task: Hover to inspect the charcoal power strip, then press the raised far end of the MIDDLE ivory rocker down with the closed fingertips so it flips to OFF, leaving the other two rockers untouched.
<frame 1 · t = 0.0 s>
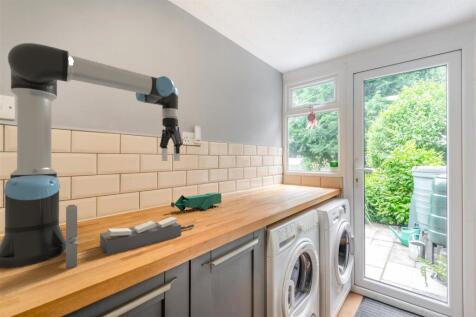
hand: (170, 160, 107), 28 cm above the counter, fingers open, 13 cm apart
toy: (197, 209, 124), on the counter
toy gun: (71, 260, 61), on the counter
strip: (143, 240, 75), on the counter
rocker left: (119, 231, 68), point 5 cm above the counter, hinge at 11.0°
rocker right: (167, 221, 79), point 5 cm above the counter, hinge at -11.0°
rocker mid: (145, 226, 73), point 5 cm above the counter, hinge at -11.0°
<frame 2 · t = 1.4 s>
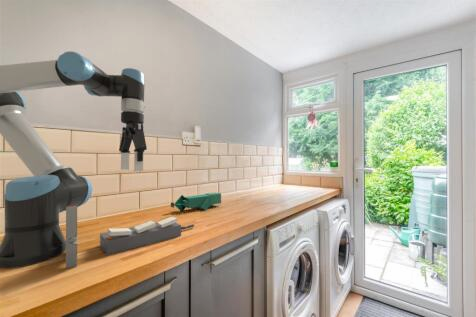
hand: (131, 170, 79), 25 cm above the counter, fingers open, 13 cm apart
nothing on the counter moved.
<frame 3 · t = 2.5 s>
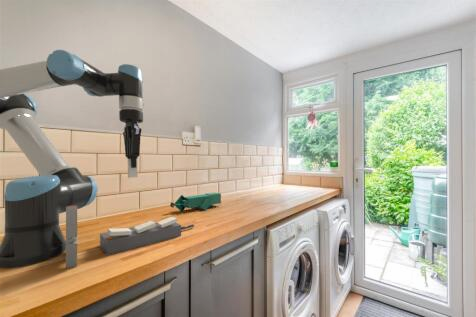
hand: (132, 177, 76), 22 cm above the counter, fingers closed
nothing on the counter moved.
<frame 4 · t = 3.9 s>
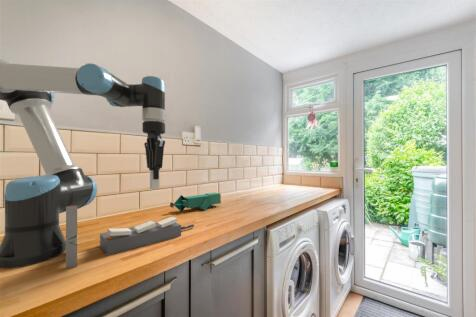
hand: (154, 188, 76), 18 cm above the counter, fingers closed
nothing on the counter moved.
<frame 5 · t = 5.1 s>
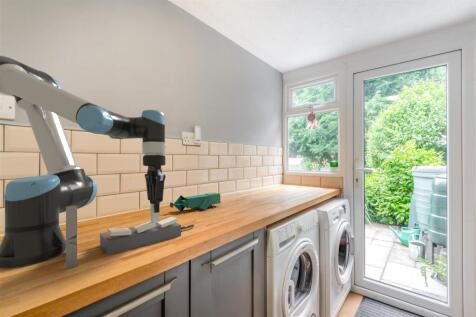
hand: (155, 221, 76), 7 cm above the counter, fingers closed
rocker mid: (145, 226, 73), point 5 cm above the counter, hinge at -10.7°, touching gripper
everything else where it was.
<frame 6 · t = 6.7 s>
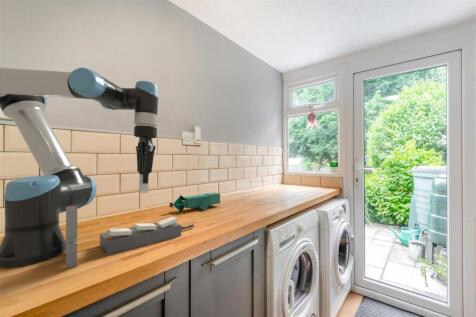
hand: (143, 192, 76), 17 cm above the counter, fingers closed
rocker mid: (145, 226, 74), point 5 cm above the counter, hinge at 10.6°
everything else where it was.
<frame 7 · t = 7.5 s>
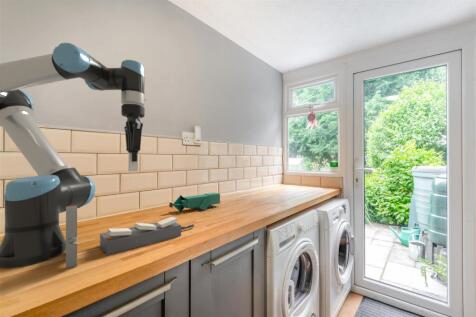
hand: (133, 170, 77), 24 cm above the counter, fingers closed
rocker mid: (145, 226, 74), point 5 cm above the counter, hinge at 16.1°, touching strip
everything else where it was.
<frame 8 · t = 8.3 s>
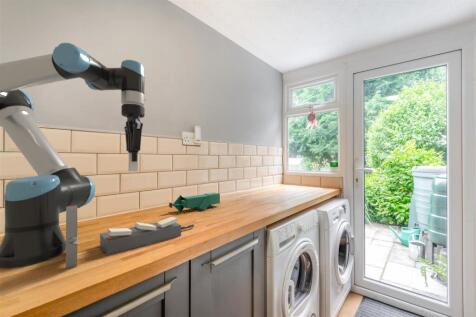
hand: (133, 170, 77), 24 cm above the counter, fingers closed
rocker mid: (145, 226, 74), point 5 cm above the counter, hinge at 18.8°, touching strip
at the end: rocker mid at +18° (first picture: -11°); rocker right at -11° (first picture: -11°); rocker left at +11° (first picture: +11°) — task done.
